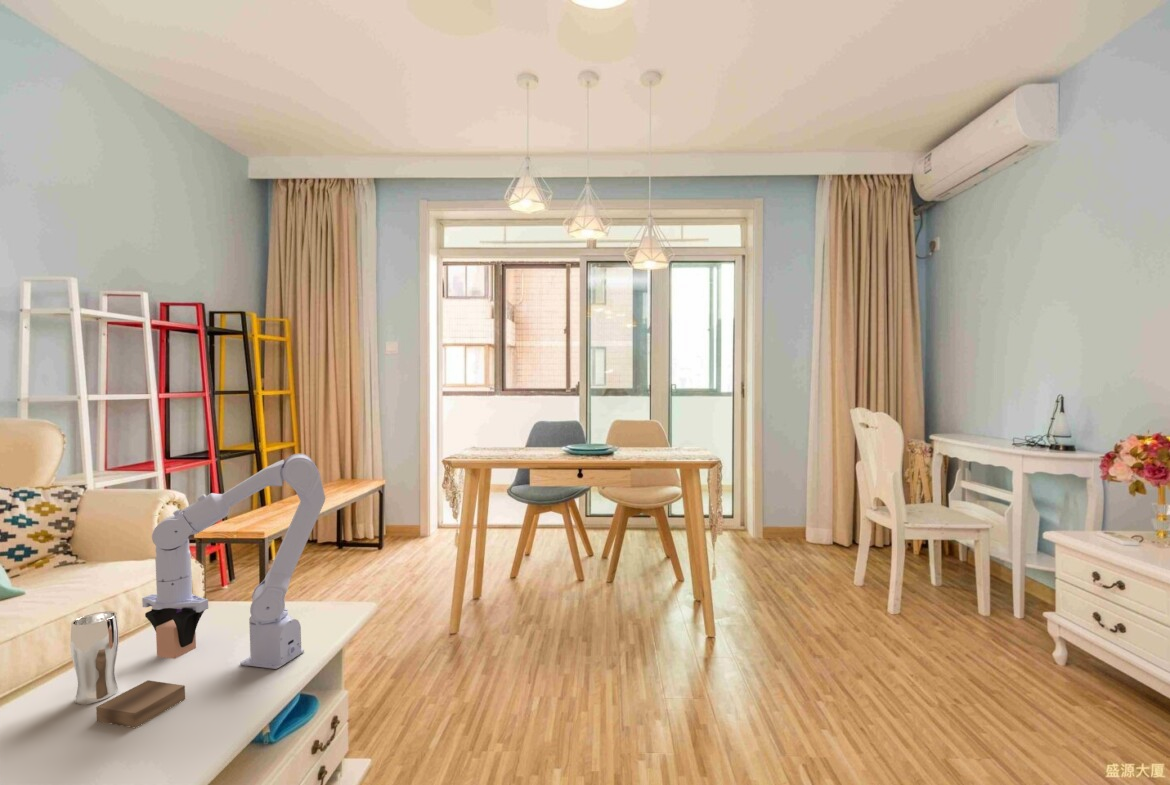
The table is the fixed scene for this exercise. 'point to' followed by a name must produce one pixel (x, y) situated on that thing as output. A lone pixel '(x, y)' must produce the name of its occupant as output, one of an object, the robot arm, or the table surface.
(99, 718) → the walnut base
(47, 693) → the table surface
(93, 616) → the beer glass
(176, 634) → the terracotta block
